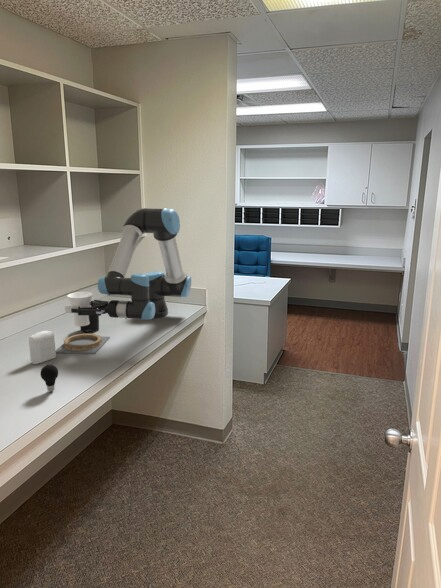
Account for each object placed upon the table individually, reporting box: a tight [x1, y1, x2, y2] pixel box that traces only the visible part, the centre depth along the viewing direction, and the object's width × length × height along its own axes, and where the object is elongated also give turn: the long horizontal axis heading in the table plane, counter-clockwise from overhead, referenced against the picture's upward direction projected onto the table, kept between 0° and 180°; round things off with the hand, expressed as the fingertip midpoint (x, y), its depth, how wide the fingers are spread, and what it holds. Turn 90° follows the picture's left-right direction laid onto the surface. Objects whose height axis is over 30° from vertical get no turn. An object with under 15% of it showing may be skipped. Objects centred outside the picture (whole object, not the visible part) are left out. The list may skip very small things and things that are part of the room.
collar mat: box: [55, 335, 111, 355], centre depth 200 cm, size 20×18×1 cm
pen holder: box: [79, 315, 100, 334], centre depth 218 cm, size 9×9×10 cm
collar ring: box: [63, 333, 102, 351], centre depth 200 cm, size 16×16×2 cm
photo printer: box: [28, 330, 57, 365], centre depth 182 cm, size 10×4×12 cm, turn 144°
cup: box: [66, 291, 93, 327], centre depth 196 cm, size 10×10×14 cm
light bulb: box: [40, 364, 59, 393], centre depth 155 cm, size 6×6×10 cm
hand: (71, 306), depth 196 cm, fingers closed on cup, 9 cm apart
